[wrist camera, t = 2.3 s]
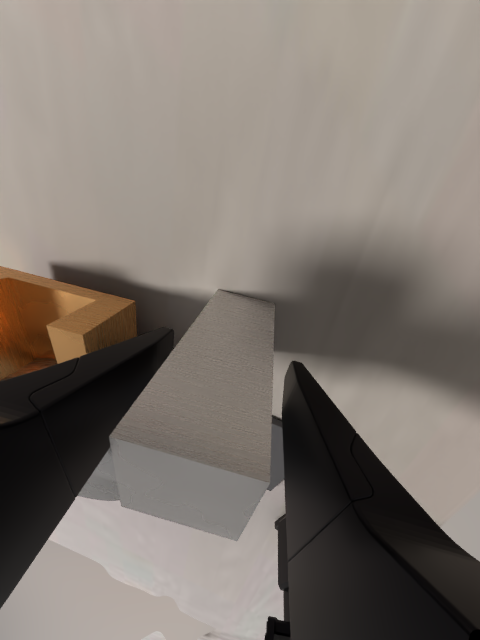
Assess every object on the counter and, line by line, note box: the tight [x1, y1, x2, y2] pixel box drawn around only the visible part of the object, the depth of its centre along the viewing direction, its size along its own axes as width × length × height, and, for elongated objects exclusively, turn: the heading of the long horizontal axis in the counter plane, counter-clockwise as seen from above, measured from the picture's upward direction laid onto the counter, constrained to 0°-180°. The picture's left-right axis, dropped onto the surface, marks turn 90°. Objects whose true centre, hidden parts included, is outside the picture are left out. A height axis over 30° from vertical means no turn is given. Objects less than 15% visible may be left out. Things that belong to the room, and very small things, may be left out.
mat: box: [267, 417, 284, 491], centre depth 16 cm, size 8×8×1 cm
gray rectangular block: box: [109, 289, 275, 541], centre depth 8 cm, size 3×3×8 cm
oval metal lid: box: [0, 266, 137, 501], centre depth 12 cm, size 16×11×4 cm
